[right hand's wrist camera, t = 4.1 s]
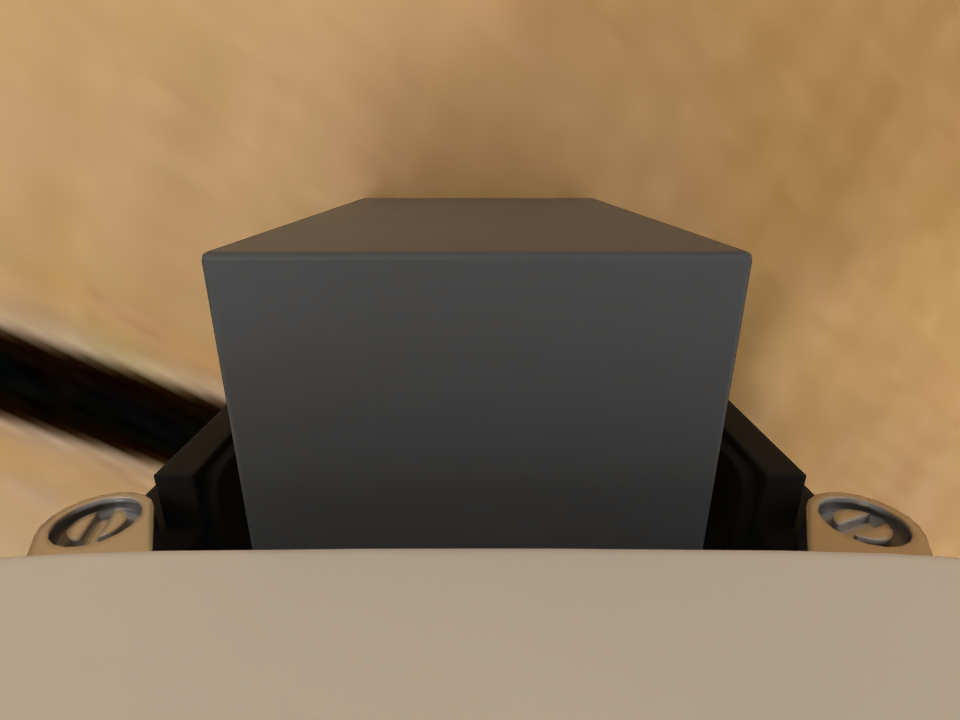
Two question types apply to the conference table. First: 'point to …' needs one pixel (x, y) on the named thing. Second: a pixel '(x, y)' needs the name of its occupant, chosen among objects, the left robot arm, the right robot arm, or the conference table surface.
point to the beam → (477, 375)
